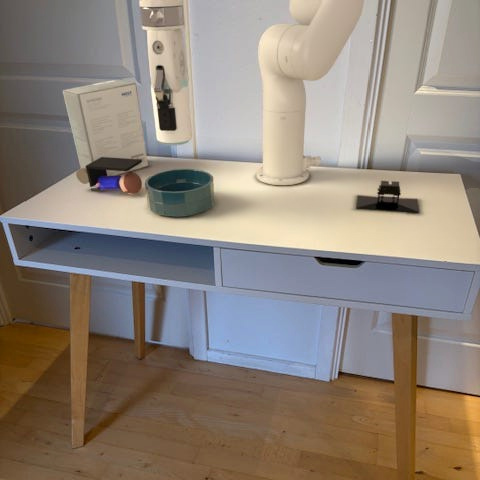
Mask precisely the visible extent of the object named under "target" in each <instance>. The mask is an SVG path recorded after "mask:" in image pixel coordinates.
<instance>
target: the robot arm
mask: <svg viewBox="0 0 480 480" xmlns="http://www.w3.org/2000/svg"><path fill="white" fill-rule="evenodd" d="M138 3H139V5H138V6H139V12H140V21H141V29H142V30H143V31H146V41H147V57H148V67H149V76H150V83H151V84H152V88H153V90H154V92H155V95H156V100H157V110H158V119H159V127H160V130H161V131H175V130H176V129H177V125H176V115H175V108H173V91H172V90H175V92H179V91H180V90H181V87H182V81H183V75H184V79H185V80H186V81H187V83H188V84H189V80H190V77H189V70H188V69H189V68H188V59H187V52H186V45H185V37H184V33H183V29H185V28H186V22H185V21H186V20H185V10H184V0H138ZM364 3H365V0H289V3H288V8H289V15H290V17H291V18H292V20H293V21H294V22H295V23H287V22H286V23H285V22H283V23H282V22H281V23H277V24H273V25H271V26H269V27H268V28H266V30H265V31H264V32H262V33H263V34H262V35H261V37H260V39H259V42H258V47H257V48H258V49H257V60H258V66H259V71H260V77H261V79H260V80H261V89H262V90H261V91H262V166H261V167H259V168H258V169H257V170H256V172H255V175H256V176H255V177H256V179H257V180H258V181H259V182H261V183H264V184H268V185H273V186H274V185H275V186H293V185H298V184H300V183H303V182H305V181H307V180H308V179H309V177H310V171H309V170H308V169H309V168H310V167H315V166H320V165H321V164H322V162H323V161H322V157H321V156H315V157H312V155H305V154H304V152H305V151H304V149H305V126H306V108H307V93H306V87H305V83H304V81H308V82H315V81H318V80H321V79H322V78H324V77H325V76H326V75H327V74H328V73H329V72H330V70H331V69H332V68H333V66H334V64H336V61H337V59H338V58H339V56H340V54H341V53H342V51H343V49H344V47H345V46H346V44H347V42H348V41H349V39H350V37H351V35H352V34H353V32H354V30H355V28H356V27H357V24H358V22H359V20H360V18H361V16H362V13H363V8H364ZM296 23H297V24H296ZM164 85H167V86H169V89H163V86H164ZM166 94H169V96H168V98H167V96H166Z"/></svg>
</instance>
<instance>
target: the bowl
mask: <svg viewBox="0 0 480 480" xmlns="http://www.w3.org/2000/svg"><path fill="white" fill-rule="evenodd" d="M144 188H145V195H146V203H147V207H148V208H149V210H150V211H151V212H153V213H155V214H157V215H161V216H166V217H188V216H193V215H198V214H200V213H203V212H206V211H208V210H209V209H211V208H212V207H213V206H214V205H215V202H216V201H215V200H216V199H215V183H214V176H213V175H212V173H210V172H208V171H205V170H201V169H198V168H197V169H196V168H174V169H173V168H172V169H168V170H163V171H159V172H156V173H153V174H152V175H150V176H148V177H147V178H146V179H145V181H144Z"/></svg>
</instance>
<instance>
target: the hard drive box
mask: <svg viewBox="0 0 480 480" xmlns="http://www.w3.org/2000/svg"><path fill="white" fill-rule="evenodd" d="M62 94H63V97H64V98H63V99H64V103H65V105H66V106H65V107H66V112H67V114H68V119H69V124H70V128H71V133H72V135H73V136H72V137H73V142H74V144H75V150H76V155H77V157H78V161H79V166H80V169H81V168H86V165H88V164H90V163H92V162H93V161H95V160H97V159H99V158H101V157H109V158H125V159H142V162H141V163H140V164H138V165H137V166H135V167H133V168H132V169H130V170H129V171H113V170H106V171H107V176H120V175H123V174H124V173H126V172H133V171H136V170H140V169H142V168H146V167H148V166H149V162H148V156H147V155H148V154H147V148H146V142H145V135H144V128H143V122H142V121H143V120H142V114H141V109H140V107H141V106H140V103H139V101H140V100H139V94H138V88H137V83H136V82H134V81H130V80H125V79H121V78H119V79H114V80H108V81H102V82H97V83H91V84H87V85H82V86H77V87H72V88H67V89H63V90H62Z"/></svg>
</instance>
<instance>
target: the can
mask: <svg viewBox="0 0 480 480" xmlns="http://www.w3.org/2000/svg"><path fill="white" fill-rule="evenodd" d="M163 89H169V86H167V85H164V86H163ZM172 91H173V108H175V115H176V125H177V129H176V130H175V131H161V130H160V127H159V119H158V110H157V100H156V95H155V92H154V90H153V88H152V83H151V84H150V93H151V101H152V109H153V110H152V111H153V117H154V126H155V137H156V140H157V141H158V142H159V143H160V144H162V145H164V146H170V147H171V146H182V145H185V144H188V143H189V142H190V141H191V140H192V139H193V125H192V114H191V113H192V112H191V101H190V100H191V99H190V87H189V82H188V83H187V81H186V80H185V79H184V75H183V81H182V87H181V90H180V91H179V92H175V90H172ZM166 96H167V98H168V96H169V94H166Z"/></svg>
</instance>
